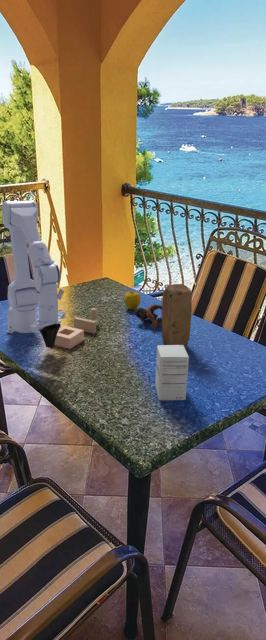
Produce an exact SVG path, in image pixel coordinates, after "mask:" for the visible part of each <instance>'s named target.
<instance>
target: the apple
mask: <svg viewBox="0 0 266 640" xmlns="http://www.w3.org/2000/svg"><path fill="white" fill-rule="evenodd" d="M123 299H124V305H125V306H126V308H127V309H128V310H132V311H133V310H134V311H136V309H137V308H139V306H140V303H141V295H140V293H139V292H136V291H131V290H130V289H129V290H128V291H127V292H126V293H125V295H124V298H123Z"/></svg>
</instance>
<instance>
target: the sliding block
mask: <svg viewBox="0 0 266 640" xmlns="http://www.w3.org/2000/svg"><path fill="white" fill-rule="evenodd" d="M84 340H85V331H84V330H81V329H77V328H74V327H71V326H68V325H64V324H63V325H61V327H60V329H59V331H58V333H57V336H56V339H55V344H54V346H56V347H61V348H65V349H69V350H71V349H72V348H75V346H77V345H78V344H80V343H82V342H83V341H84Z"/></svg>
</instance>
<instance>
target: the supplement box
mask: <svg viewBox="0 0 266 640" xmlns="http://www.w3.org/2000/svg"><path fill="white" fill-rule="evenodd" d="M189 362H190V357H189V354H188V352H187V350H186V347H184V345H165V344H160V345H157V346H156V363H155V383H154V388H155V389H156V394H157V399H158V401H186V397H187V384H188V373H189Z"/></svg>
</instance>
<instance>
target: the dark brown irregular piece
mask: <svg viewBox="0 0 266 640" xmlns="http://www.w3.org/2000/svg"><path fill="white" fill-rule="evenodd" d="M158 309H160V310H161V311H162V304H161V305H160V304H152V305H150V306H148V307H146V308H143V307H138V308H137V309H135V310H134V313H135V316H136V317H137V318H138V319H139V320H140V321H141V322H142V323H143V322H145V321H146V320H148V319H149V320H150V321H151V322H152V323H151V325H150V327H151V328H153V329H156V328H157V327H160V326H162V317H159V315H158V314H156V313H155V311H156V310H158Z"/></svg>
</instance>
